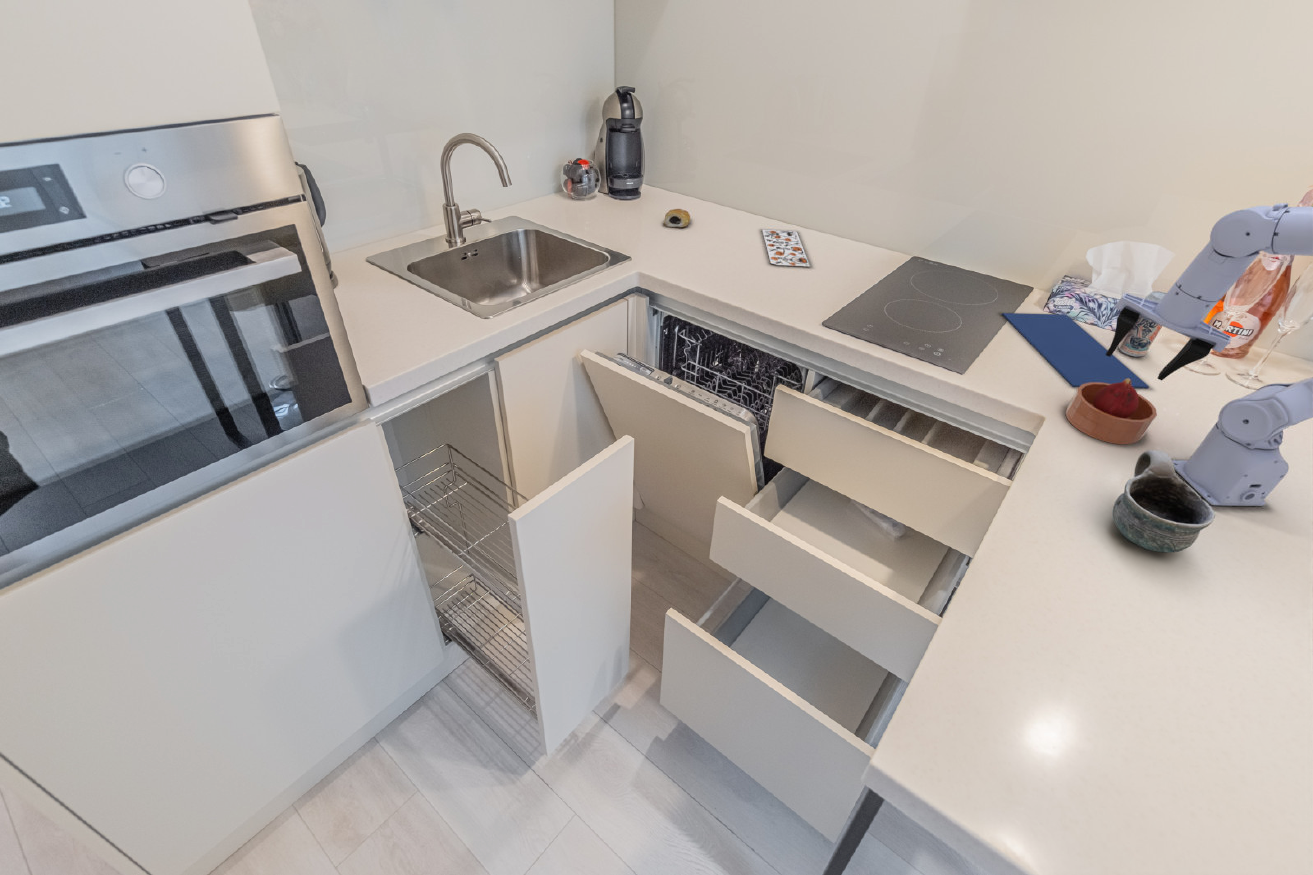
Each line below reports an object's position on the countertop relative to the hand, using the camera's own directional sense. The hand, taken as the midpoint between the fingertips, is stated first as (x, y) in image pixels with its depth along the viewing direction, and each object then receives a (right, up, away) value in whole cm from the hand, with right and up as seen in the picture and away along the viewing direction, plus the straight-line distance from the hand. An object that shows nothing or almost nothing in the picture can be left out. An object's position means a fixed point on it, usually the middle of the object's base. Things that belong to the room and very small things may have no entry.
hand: (1134, 364), depth 97 cm
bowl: (-1, -9, +6) cm, 11 cm away
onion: (-1, -9, +6) cm, 10 cm away
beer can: (+19, +5, +25) cm, 32 cm away
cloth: (+7, +6, +26) cm, 27 cm away
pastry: (-69, +48, +74) cm, 112 cm away
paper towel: (-42, +37, +62) cm, 84 cm away
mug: (-10, -24, -13) cm, 29 cm away
